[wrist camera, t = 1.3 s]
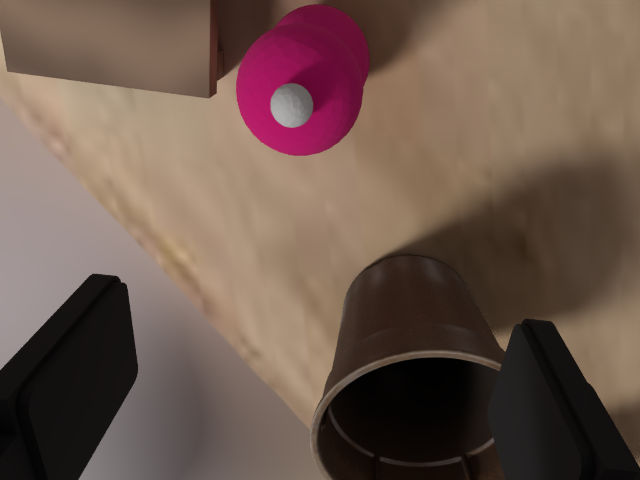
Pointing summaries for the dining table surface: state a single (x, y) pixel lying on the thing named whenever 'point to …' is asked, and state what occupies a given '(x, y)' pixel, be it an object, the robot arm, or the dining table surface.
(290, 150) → the pepper mill
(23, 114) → the dining table surface
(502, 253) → the dining table surface
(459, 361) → the plant pot
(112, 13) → the wooden stool
